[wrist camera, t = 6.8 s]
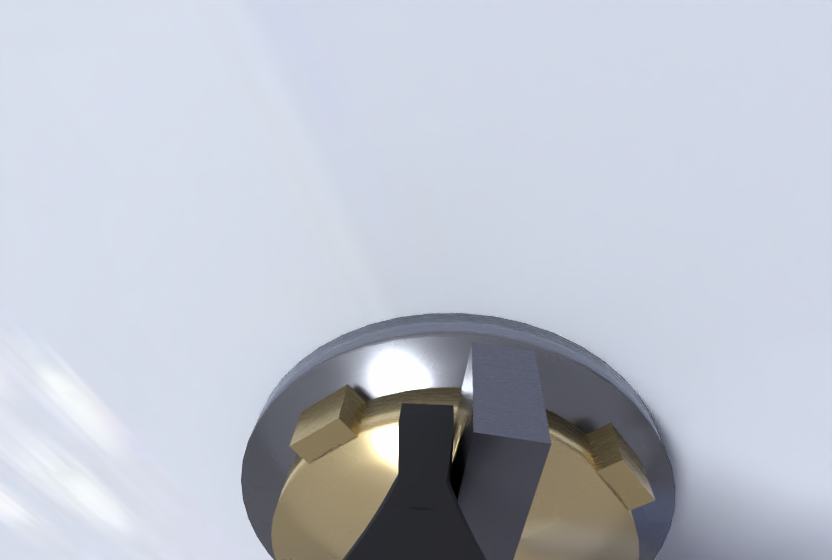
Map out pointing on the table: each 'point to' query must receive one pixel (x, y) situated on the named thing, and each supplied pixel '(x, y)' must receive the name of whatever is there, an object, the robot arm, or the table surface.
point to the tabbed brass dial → (467, 470)
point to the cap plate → (445, 368)
